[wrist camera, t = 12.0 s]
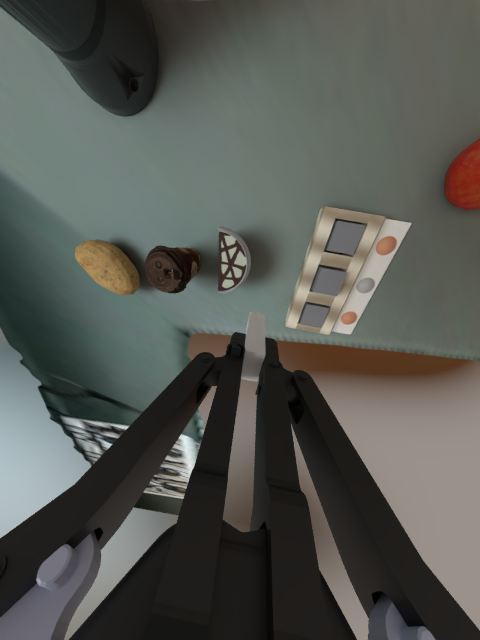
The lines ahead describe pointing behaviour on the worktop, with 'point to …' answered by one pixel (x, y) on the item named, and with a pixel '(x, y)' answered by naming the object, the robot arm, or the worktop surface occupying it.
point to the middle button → (328, 280)
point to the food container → (232, 261)
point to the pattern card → (371, 273)
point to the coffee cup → (171, 268)
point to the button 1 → (313, 314)
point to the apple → (465, 179)
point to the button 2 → (344, 237)
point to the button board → (345, 262)
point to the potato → (108, 266)
